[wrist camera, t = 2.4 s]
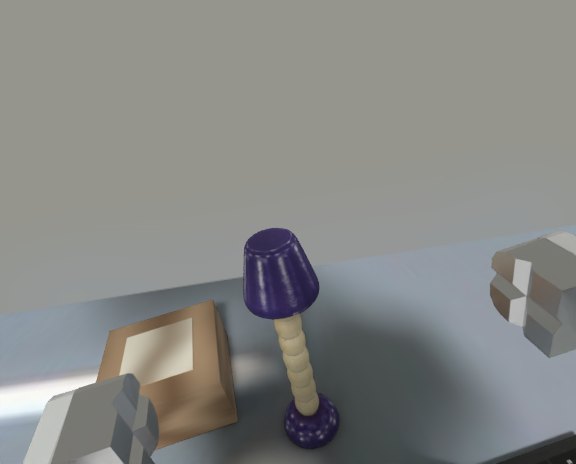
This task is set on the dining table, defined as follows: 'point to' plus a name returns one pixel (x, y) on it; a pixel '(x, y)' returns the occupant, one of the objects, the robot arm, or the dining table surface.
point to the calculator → (549, 454)
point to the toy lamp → (289, 326)
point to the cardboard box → (177, 369)
